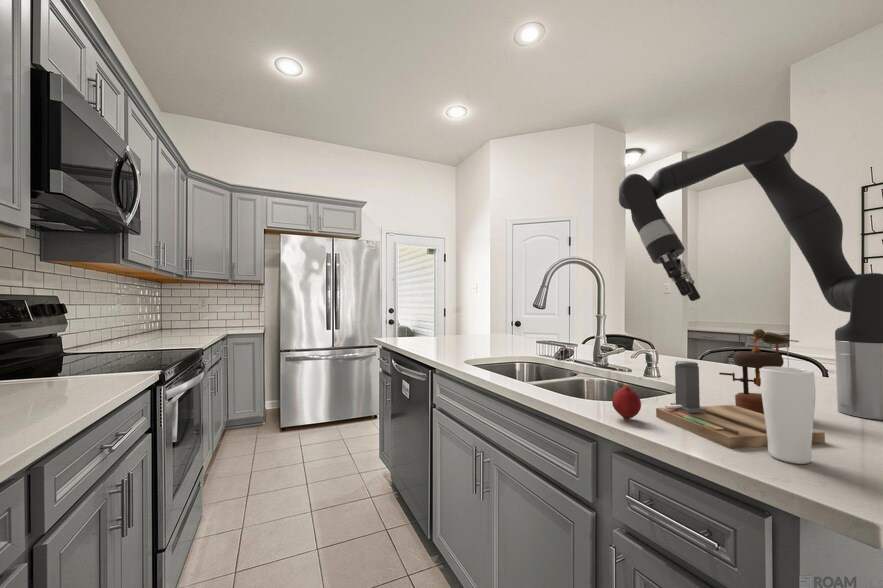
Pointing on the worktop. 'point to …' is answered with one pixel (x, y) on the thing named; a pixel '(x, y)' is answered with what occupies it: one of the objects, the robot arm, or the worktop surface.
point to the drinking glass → (788, 412)
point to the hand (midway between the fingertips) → (692, 297)
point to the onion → (626, 402)
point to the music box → (757, 368)
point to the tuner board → (726, 425)
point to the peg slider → (687, 387)
